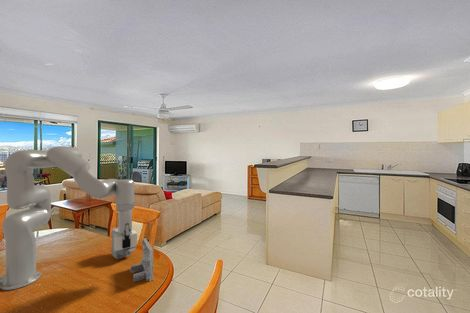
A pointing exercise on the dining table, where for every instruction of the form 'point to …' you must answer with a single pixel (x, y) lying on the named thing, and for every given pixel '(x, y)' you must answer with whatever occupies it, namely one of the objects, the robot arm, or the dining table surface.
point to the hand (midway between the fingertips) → (125, 244)
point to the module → (119, 238)
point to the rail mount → (144, 264)
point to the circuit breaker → (119, 253)
